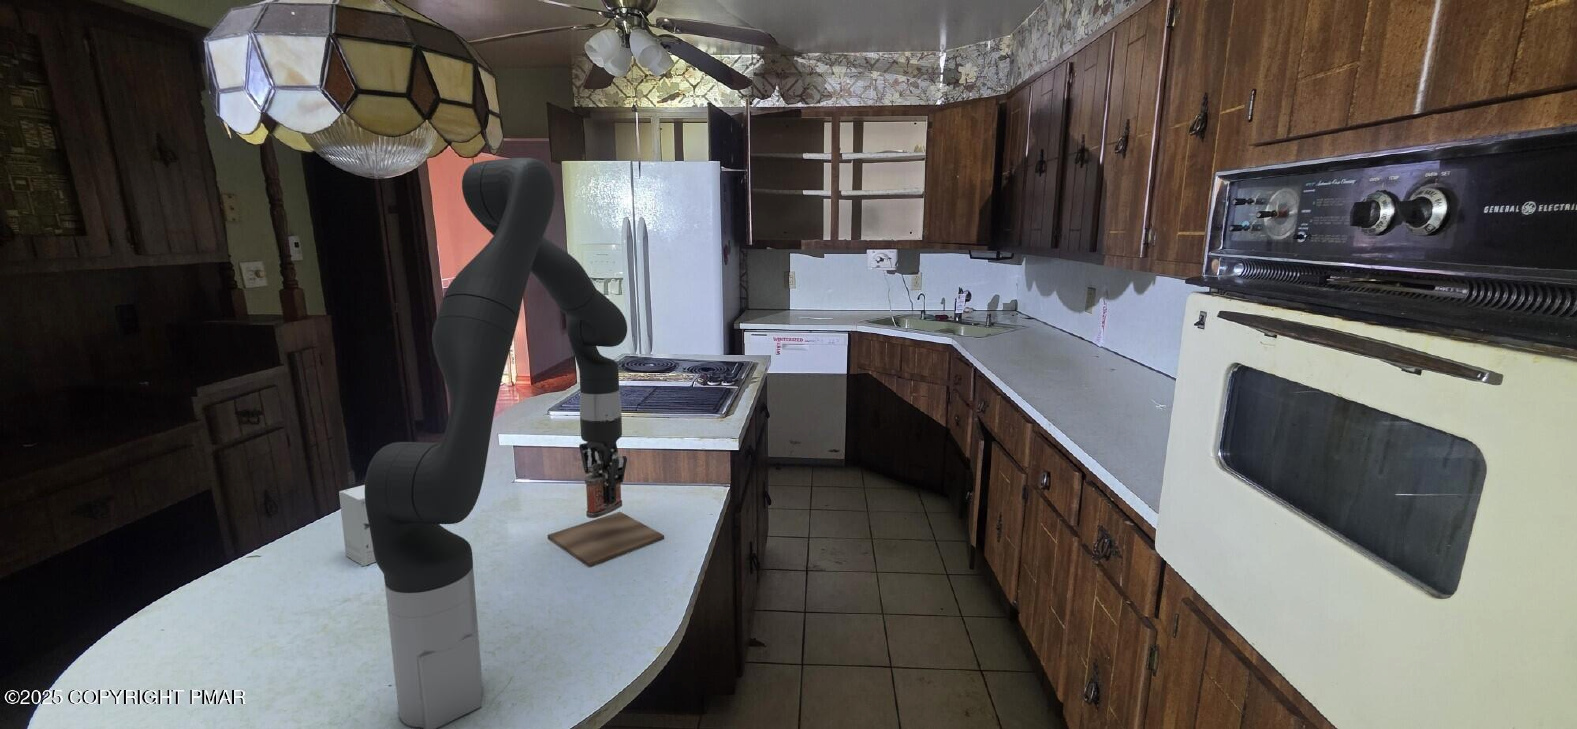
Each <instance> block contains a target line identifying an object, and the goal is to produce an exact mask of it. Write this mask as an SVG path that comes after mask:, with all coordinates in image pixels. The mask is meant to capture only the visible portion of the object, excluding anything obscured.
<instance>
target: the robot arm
mask: <svg viewBox="0 0 1577 729" xmlns="http://www.w3.org/2000/svg"><path fill="white" fill-rule="evenodd" d="M461 189H462V196H463V199H464V201H465V204H466V206H467V208H468V209H469V210H470V212H471V213H472V215H473V216H474V217H475V219H476V220H477V221H478V222H479V223H480V224H481V225H482V226H483V227H484V228H485V229H486V230H487V231H488V232H489V233H490V234H491V236H492V238H491V239H490V240H489V241H488V243H486V245H485V246H484V247H483V248H482V249H481V250H480V251H479V252H478V253H477V254H476V255H475V256H474V257H473V258H472V259H471V260H470V261H469V262H468V263H466V265H465V266H464V267H463V268H462V269H461V270H460V272H458V273H457V274H456V276H455V277H454V278H453V279H452V281H451V282H450V283H449V284H448V286H447V288H446V289H445V292H444V294H443V297H442V300H441V303H440V306H439V310H438V313H437V316H436V318H435V322H434V325H433V328H432V335H431V342H432V348H433V352H434V355H435V359H436V362H437V365H438V367H439V369H440V372H441V374H442V377H443V380H444V382H445V385H446V389H447V392H448V395H449V413H448V418H447V419H448V420H447V424H446V428H445V429H446V430H445V433H444V435H443V438H442V440H441V442H421V441H420V442H418V441H417V442H416V441H397V442H396V441H395V442H392V443H388V444H386V445H385V446H382V448H380V449H379V450H378V451H377V452H376V453H375V454H374V455H373V457H372V459H371V460H370V462H369V465H368V467H367V469H366V470H367V471H366V474H365V479H364V485H365V505H366V511H367V517H368V523H369V528H370V533H371V539H372V545H373V551H374V556H375V560H376V562H375V563H376V565H377V566H378V569H380V571H381V572H382V573H383V574H382V575H383V579H384V587H385V598H386V607H387V608H386V609H387V618H388V626H389V627H388V628H389V635H390V636H389V637H390V645H391V647H390V648H391V655H392V656H391V657H392V664H393V674H394V684H395V690H396V698H397V701H396V702H397V707H398V708H397V709H398V717H399V719H400V720H401V722H402V723H404V725H406V726H409V727H414V728H422V729H438V728H440V727H442V726H445V725H446V724H448V723H450V722H452V721H454V720H456V719H459V718H461V717H462V716H464V715H466V714H469V713H471V712H473V711H475V710H477V709H479V708H480V707H482V705H483V704H482V695H483V694H484V693H483V692H484V691H483V690H484V686H483V671H482V660H481V649H480V647H481V646H480V637H479V622H478V613H477V612H478V611H477V600H476V587H475V576H474V575H475V572H474V561H473V559H474V556H473V550H472V546H471V544H470V542H469V541H467V539H466V538H464V537H462V536H460V535H459V534H456V533H454V532H452V531H450V530H448V529H447V528H444V527H443V526H442V525H455V524H459V523H460V522H462V521H464V520H465V519H466V518H467V517H469V515H470V513H472V511H473V510H474V508H475V507H476V506H475V505H476V504H477V501H478V499H479V496H480V494H481V491H482V490H481V489H482V485H483V482H484V478H485V471H486V465H487V460H488V454H489V448H490V441H491V434H492V428H493V423H494V416H495V411H496V410H495V409H496V405H497V401H498V396H499V392H500V388H501V385H502V384H501V383H502V380H503V377H504V372H505V368H506V366H507V365H506V364H507V361H508V357H509V353H510V352H511V348H512V344H513V341H514V337H515V333H516V330H517V326H518V323H519V319H520V313H521V308H522V304H523V300H524V295H525V291H526V288H527V285H528V281H529V277H530V275H531V273H532V275H534V276H535V278H536V279H537V280H538V281H539V282H540V284H541V285H542V286H543V287H544V289H545V290H546V291H547V293H548V294H549V296H550V297H551V298H552V300H553V301H554V303H555V304H556V305H557V307H558V308H559V309H560V310H561V311H562V313H563V314H565V315H566V316H568V321H567V324H566V325H567V328H566V329H567V330H566V331H567V337H568V340H569V343H570V346H571V349H572V351H573V352H572V353H573V355H574V358H575V362H576V364H577V367H578V368H577V369H578V371H579V388H580V391H579V392H580V393H579V394H580V395H579V402H578V403H579V421H580V422H579V425H580V439H581V440H582V441H583V442H584V443H579V445H578V446H579V452H580V457H581V461H582V468H583V470H584V474H585V475H588V476H589V475H591V474H594V473H589V472H588V467H589V466H591V465H593V464H596V463H598V469H599V473H600V474H601V475H602V478H603V484H604V486H603V490H604V503H605V504H607V505H609V504H612V503H615V502H616V484H619V483H621V484H623V482H624V478H625V474H626V473H625V472H626V468H627V463H628V458H627V456H626V455H622V456H621V455H620V454H619V449H618V446H617V444H618V443H617V441H618V440H619V439H620V438H622V437H623V421H622V420H623V419H622V399H621V395H620V394H621V393H620V377H619V376H620V374H619V365H618V362H617V361H616V360H614V359H612V358H609V357H606V356H603V355H602V354H601V353H600V351H599V349H598V347H603V348H613V347H617V346H619V345H621V344H622V343H623V342H624V341H625V340H626V337H627V335H628V322H627V320H626V317H625V315H624V314H623V312H622V311H621V309H620V308H619V307H618V306H617V305H616V304H615V303H614V302H613V301H612V300H610V299H609V298H608V297H607V296H606V295H605V294H603V293H602V292H601V291H599V290H598V288H596V286H595V284H594V283H593V281H592V280H591V278H590V277H589V275H588V273H587V272H586V270H585V269H584V267H583V266H582V264H581V263H580V262H579V261H578V260H577V259H576V258H575V257H574V256H573V255H571V254H570V253H569V252H568V251H566V250H564V249H562V248H561V247H559V246H558V245H556V244H555V243H553V242H552V241H551V240H549V239H547V238H546V237H545V236H544V235H545V233H546V230H547V227H548V225H549V224H550V219H551V217H552V214H553V210H554V205H555V200H556V199H555V197H556V192H555V181H554V178H553V175H552V173H551V171H550V169H549V167H548V166H547V165H546V164H545V163H544V162H543V161H540V160H539V159H536V158H533V157H532V158H531V157H512V158H510V157H509V158H503V159H502V158H501V159H500V158H499V159H492V160H490V159H489V160H483V161H479V162H474V163H472V164H470V165H469V166H468V167H467V168H466V169H465V170H464V173H463V176H462V180H461ZM609 466H611V468H609V469H604V468H605V467H609ZM608 473H610V475H609V479H608ZM617 475H618V477H617Z"/></svg>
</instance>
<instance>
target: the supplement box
mask: <svg viewBox="0 0 1577 729" xmlns="http://www.w3.org/2000/svg"><path fill="white" fill-rule="evenodd" d="M338 495H339V504H340V514H341V522H342V532H343V540H344V549H345V550H344V551H345V556H346V557H348V558H349V559H351V560H352V561H354V562H355V563H358V564H359V565H360V566H363V567H366V566H368V565H370V564H373V563H376V560H375V556H374V551H373V545H372V539H371V533H370V528H369V523H368V517H367V511H366V505H365V484H363V485H359V486H355V487H352V488H347V489H344V490H343V489H342V490H340V491H339V492H338Z"/></svg>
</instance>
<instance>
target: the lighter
mask: <svg viewBox="0 0 1577 729" xmlns="http://www.w3.org/2000/svg"><path fill="white" fill-rule="evenodd" d="M609 468H611V466H609V467H605V468H604V469H609ZM588 472H589V473H594V474H591V475H589V474H588V476H586V477H584V483H585V487H586V508H587V509H586V517H587V518H588V519H598V518H601V517H604V516H607V515H609V514H610V513H611V514H612V513H613V512H614V511H616V510H618V509H619V508H621V507H623V500H622V490H621V489H622V487H621V486H622V485H621V484H622V483H619V484H616V502H615V503H612V504H609V505H607V504H605V503H604V490H603V486H604V484H603V478H602V475H601V474H600V473H599V469H598V463H596V464H593V465H591V466H589V467H588ZM609 475H610V473H608V479H609ZM617 477H618V475H617Z"/></svg>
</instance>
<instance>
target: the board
mask: <svg viewBox="0 0 1577 729" xmlns="http://www.w3.org/2000/svg"><path fill="white" fill-rule="evenodd" d="M547 539H548V540H549V541H550V542H552V543H553V544H555V545H556V546H557V547H559V548H561V549H562V550H564V552H565V551H566V553H568V554H569V555H571V556H572V557H574V558H575V559H577V560H578V561H580V562H581V563H582V564H584V565H585V564H586V566H587V567H588V568H591V567H594V566H597V565H599V564H603V563H605V562H607V561H609V560H613V559H615V558H618V557H620V556H623V555H625V554H628V553H627V552H629V553H631V552H634V551H636V550H639V549H641V548H644V547H647V546H649V544H650V545H652V544H654V542H655V543H658V542H660V541H663V540H665V535H664V534H663V533H661V532H659V531H657V530H655V529H654V528H652V527H649V526H648V525H646V524H644V523H642V522H640V521H638V520H636V519H635V518H633V517H631V516H629V515H627V514H625V513H623V512H621V511H617V512H614V513H611V514H607V515H604V516H600V517H597V518H594V519H593V520H590V521H586V522H583V523H581V524H577V525H574V526H570V527H568V528H565V529H562V530H559V531H555V532H552V533H548V534H547ZM662 539H663V540H662ZM657 541H658V542H657ZM646 545H647V546H646ZM633 550H634V551H633ZM617 556H618V557H617ZM596 564H597V565H596Z"/></svg>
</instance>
